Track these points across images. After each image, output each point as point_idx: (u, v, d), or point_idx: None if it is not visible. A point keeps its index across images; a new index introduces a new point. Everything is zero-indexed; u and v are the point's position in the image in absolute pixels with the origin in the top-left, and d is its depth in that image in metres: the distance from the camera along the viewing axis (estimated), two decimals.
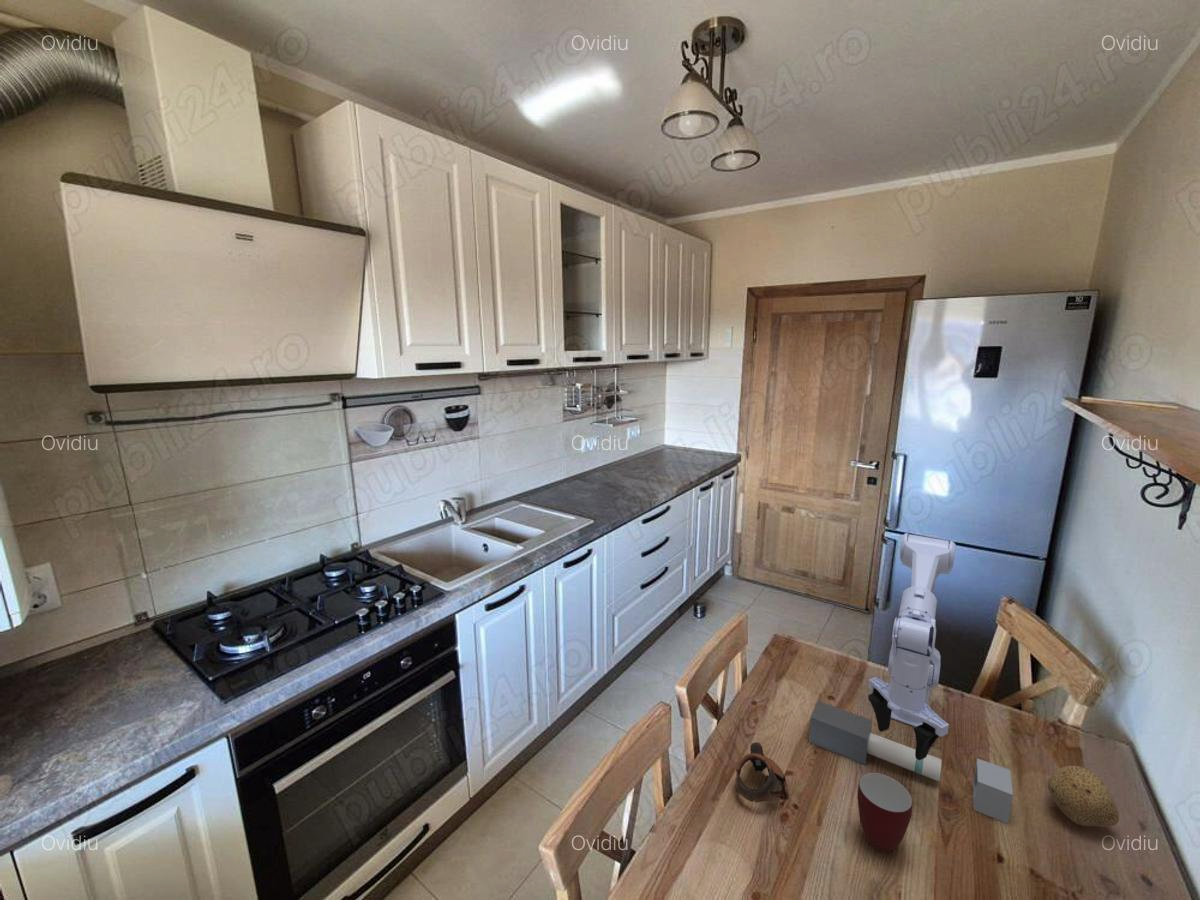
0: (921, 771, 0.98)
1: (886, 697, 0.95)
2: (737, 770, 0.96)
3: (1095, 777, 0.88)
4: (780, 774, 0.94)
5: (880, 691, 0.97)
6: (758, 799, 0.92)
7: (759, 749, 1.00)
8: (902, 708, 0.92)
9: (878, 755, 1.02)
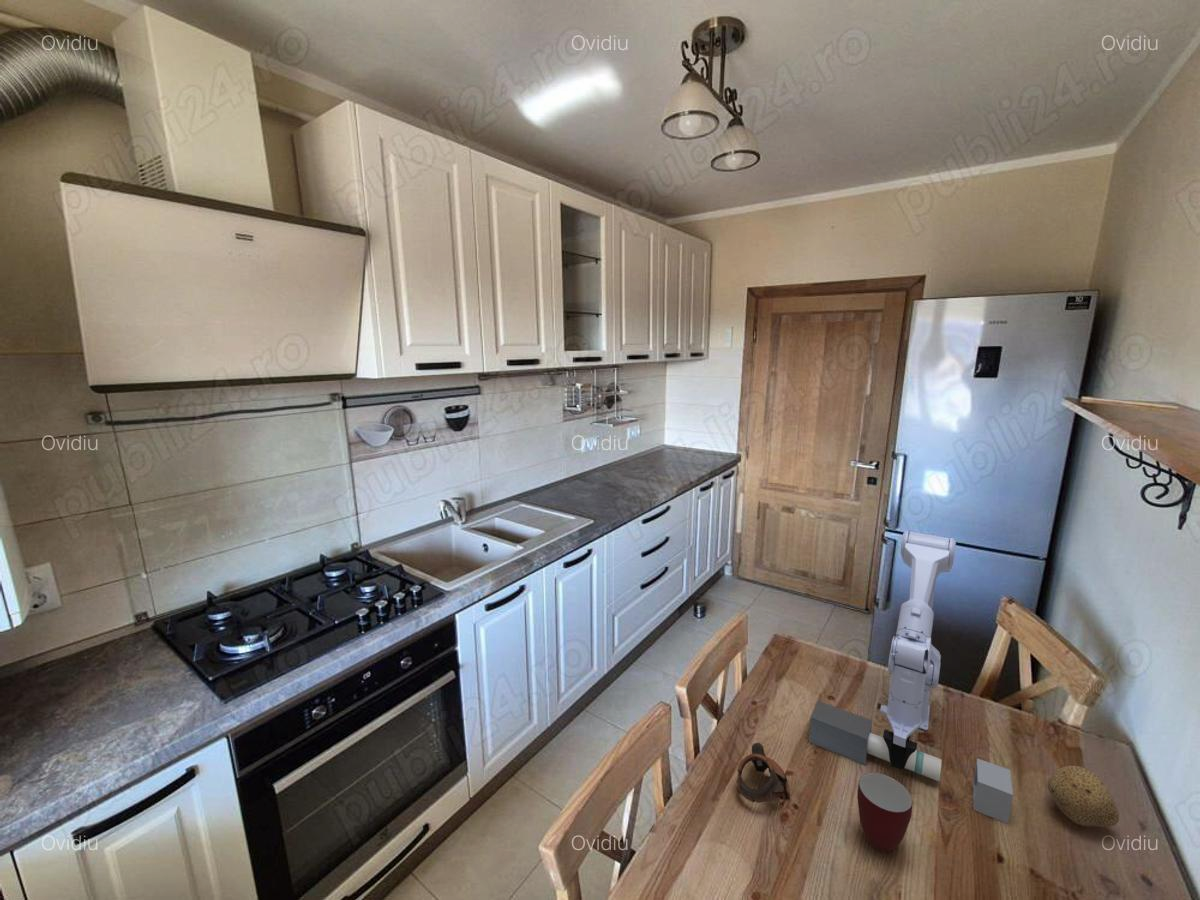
0: (921, 771, 0.98)
1: None
2: (738, 771, 0.96)
3: (1095, 777, 0.88)
4: (782, 774, 0.94)
5: None
6: (760, 800, 0.92)
7: (760, 749, 0.99)
8: (887, 712, 1.00)
9: (878, 755, 1.02)
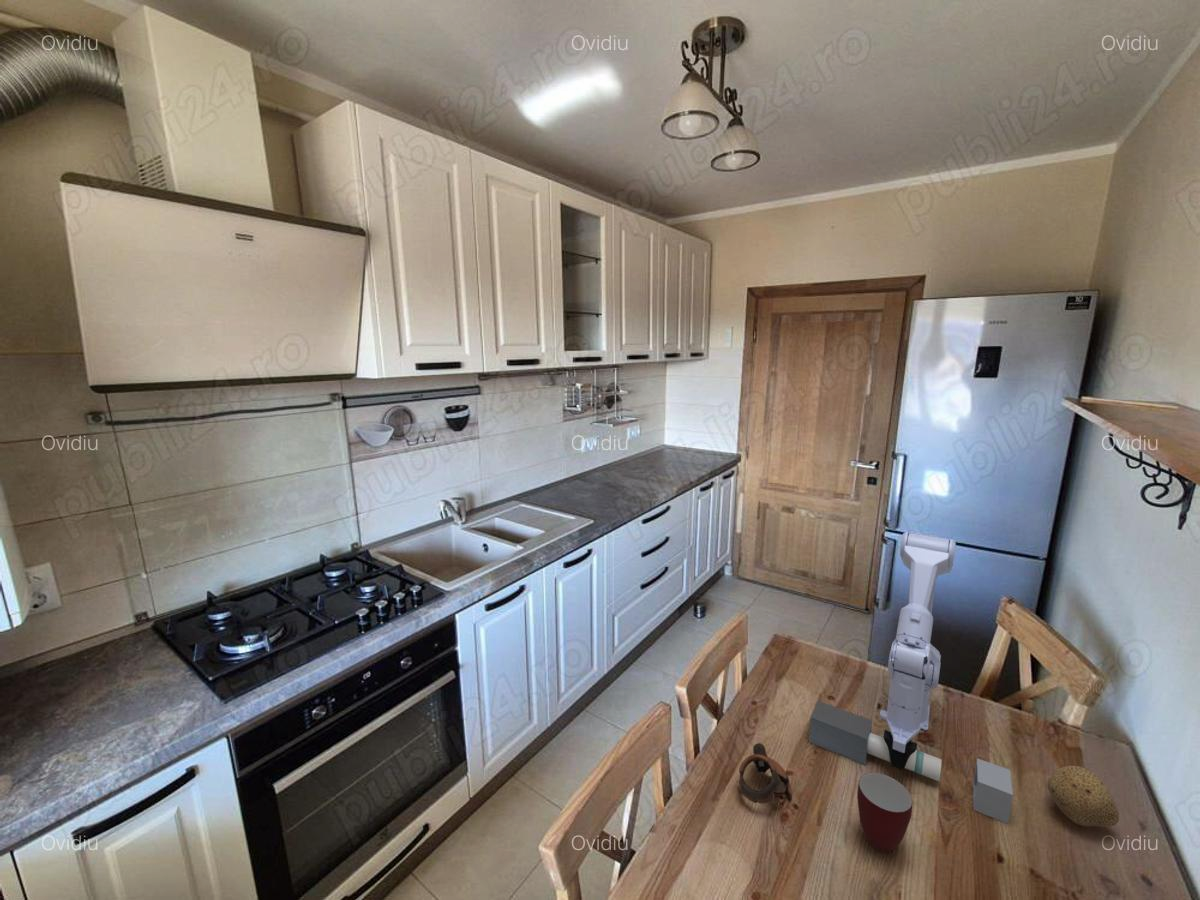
0: (921, 771, 0.98)
1: None
2: (740, 771, 0.96)
3: (1095, 777, 0.88)
4: (783, 775, 0.94)
5: None
6: (762, 800, 0.91)
7: (762, 750, 0.99)
8: (886, 717, 1.01)
9: (878, 755, 1.02)
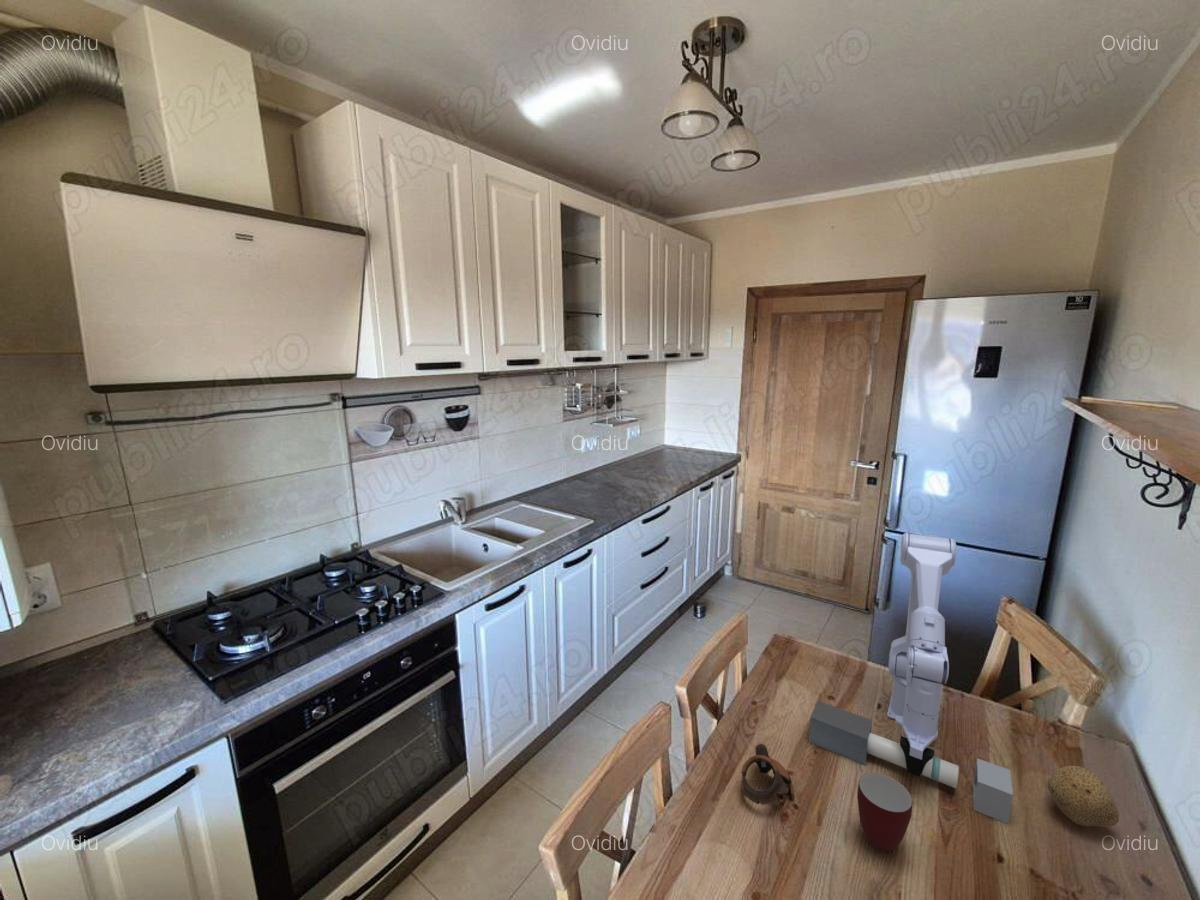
0: (938, 778, 0.96)
1: None
2: (743, 772, 0.96)
3: (1095, 777, 0.88)
4: (786, 776, 0.94)
5: None
6: (764, 801, 0.91)
7: (764, 751, 0.99)
8: (903, 723, 0.99)
9: (893, 761, 1.01)
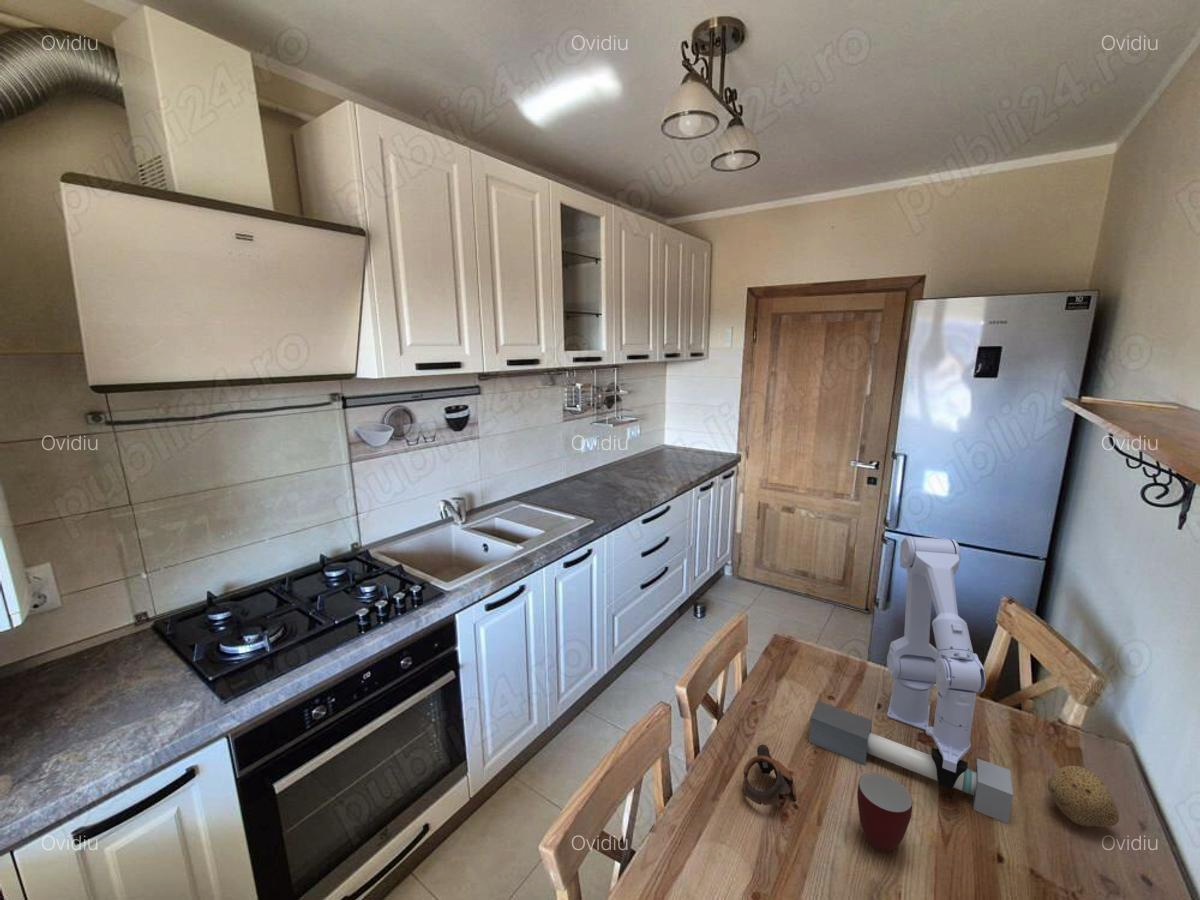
0: (969, 790, 0.93)
1: None
2: (745, 773, 0.96)
3: (1095, 777, 0.88)
4: (788, 776, 0.94)
5: None
6: (766, 802, 0.91)
7: (766, 751, 0.99)
8: (933, 734, 0.96)
9: (922, 773, 0.98)
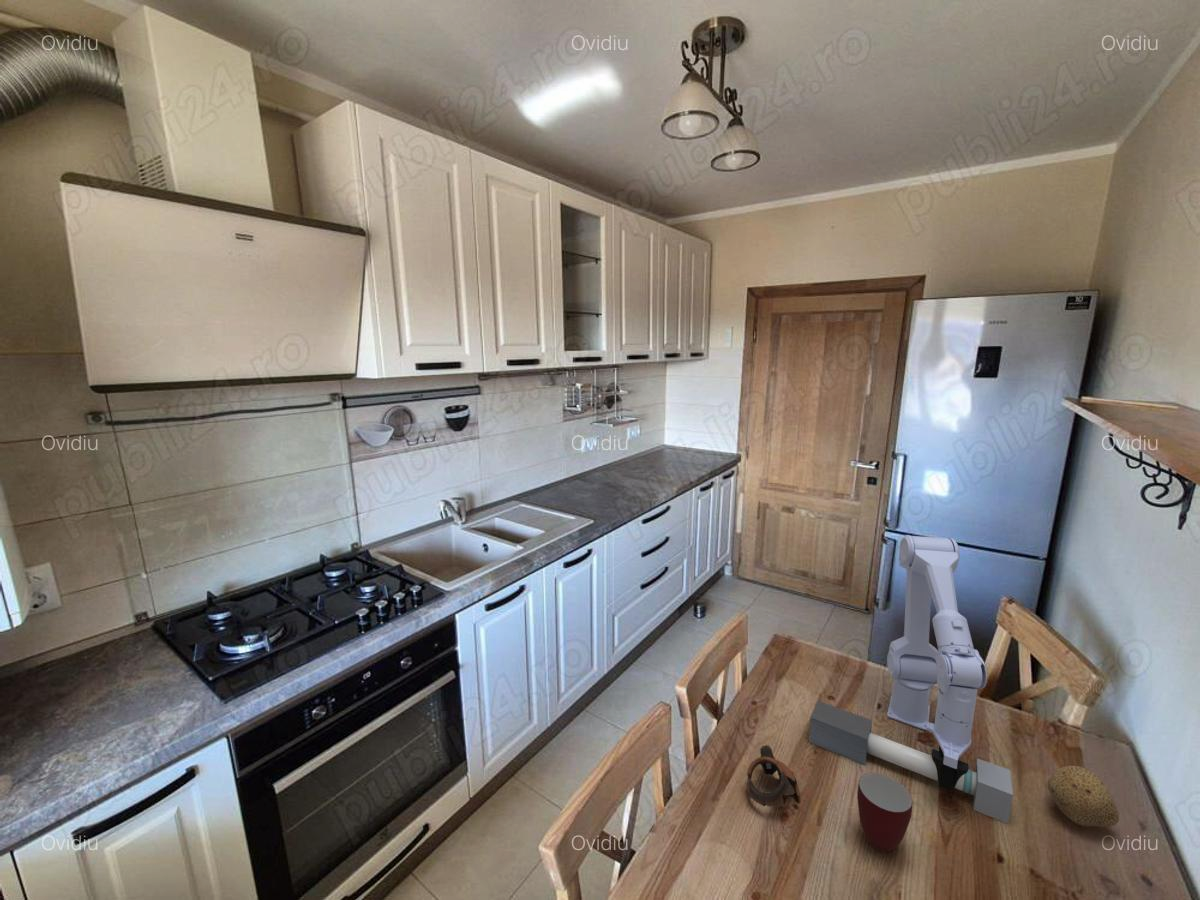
0: (970, 790, 0.93)
1: None
2: (748, 774, 0.95)
3: (1095, 777, 0.88)
4: (792, 777, 0.93)
5: None
6: (771, 803, 0.91)
7: (769, 752, 0.99)
8: (934, 730, 0.96)
9: (923, 773, 0.98)
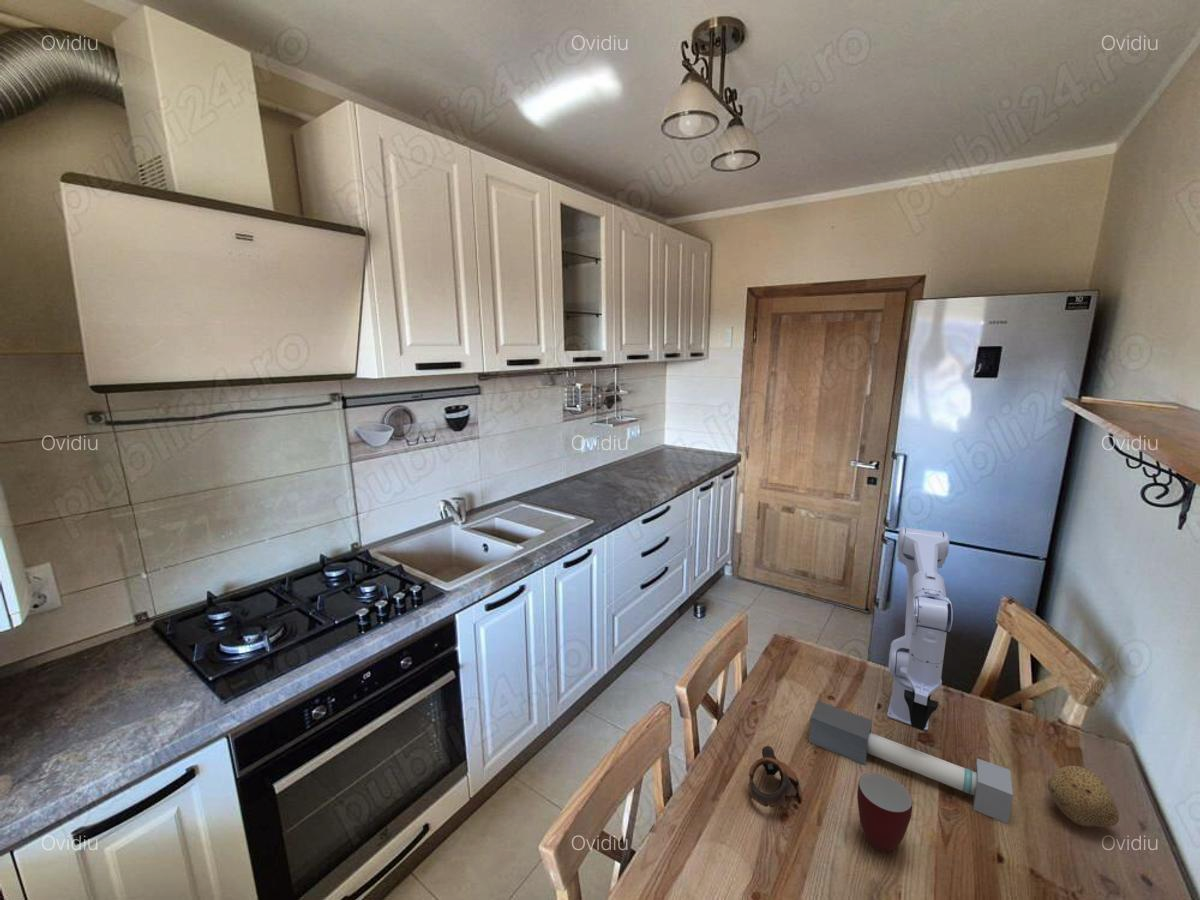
0: (970, 790, 0.93)
1: None
2: (750, 775, 0.95)
3: (1095, 777, 0.88)
4: (794, 778, 0.93)
5: None
6: (773, 804, 0.91)
7: (771, 753, 0.99)
8: (907, 673, 1.01)
9: (923, 773, 0.98)
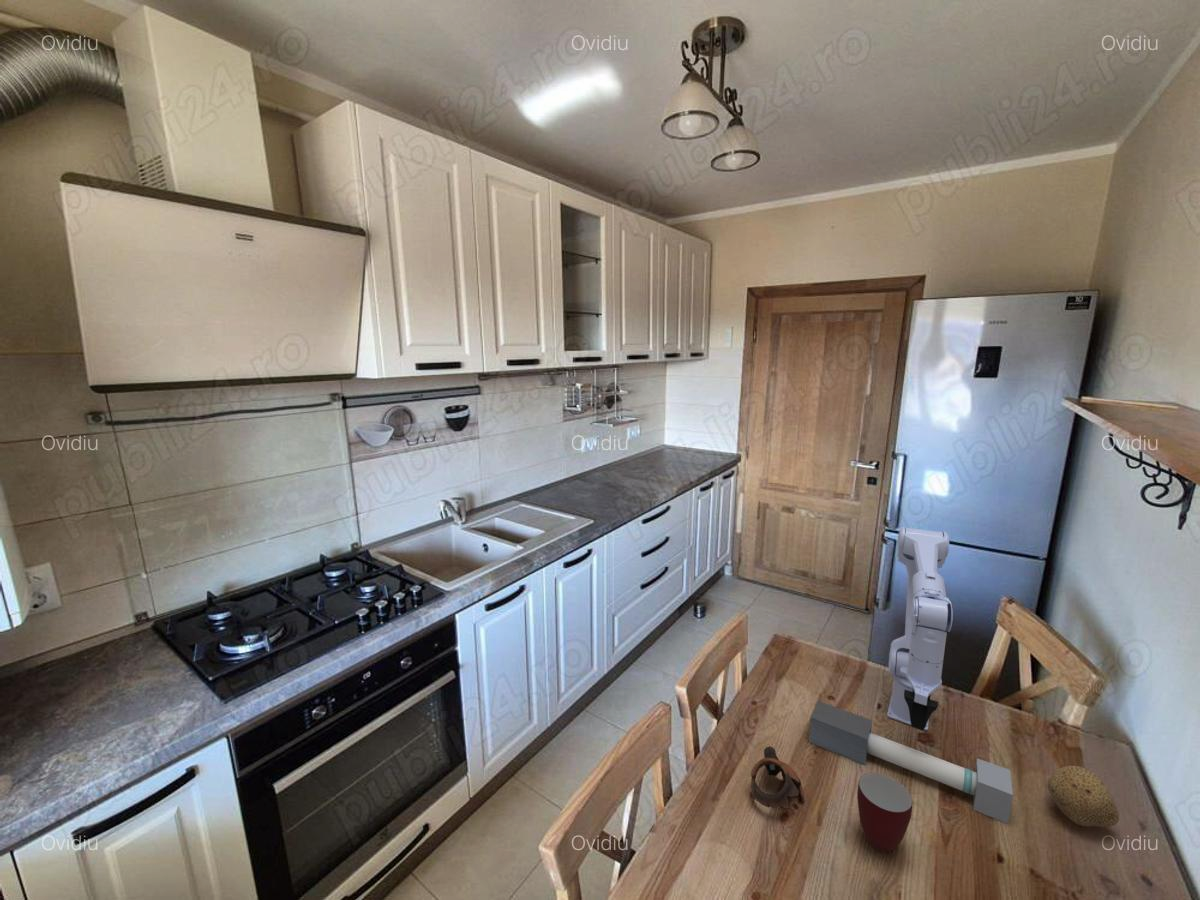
0: (970, 790, 0.93)
1: None
2: (752, 775, 0.95)
3: (1095, 777, 0.88)
4: (796, 778, 0.93)
5: None
6: (775, 805, 0.90)
7: (773, 753, 0.99)
8: (907, 673, 1.01)
9: (923, 773, 0.98)
